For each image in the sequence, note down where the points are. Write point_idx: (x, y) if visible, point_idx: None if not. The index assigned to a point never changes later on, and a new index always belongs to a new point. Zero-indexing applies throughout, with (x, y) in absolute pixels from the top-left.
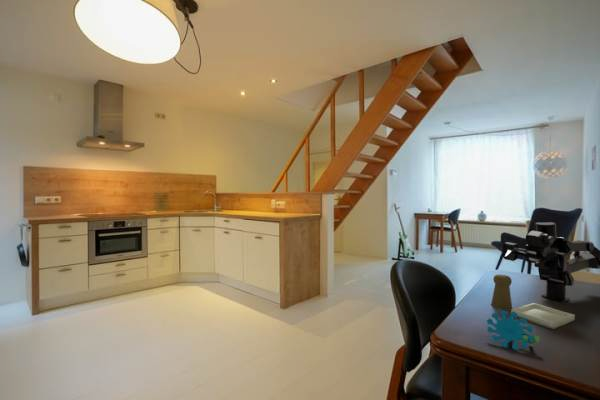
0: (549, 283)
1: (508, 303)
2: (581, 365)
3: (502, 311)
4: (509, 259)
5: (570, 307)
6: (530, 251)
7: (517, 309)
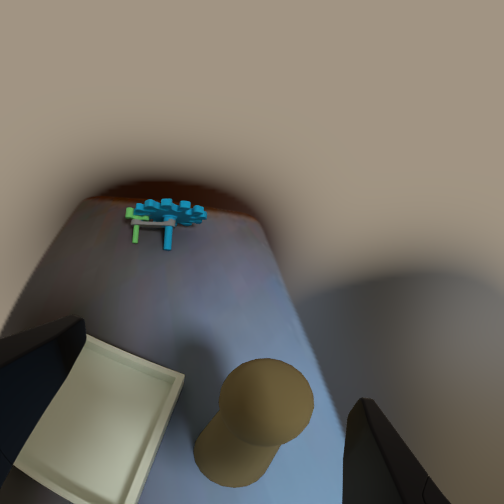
0: None
1: (206, 426)
2: (76, 225)
3: (187, 201)
4: (346, 500)
5: None
6: None
7: (168, 396)
